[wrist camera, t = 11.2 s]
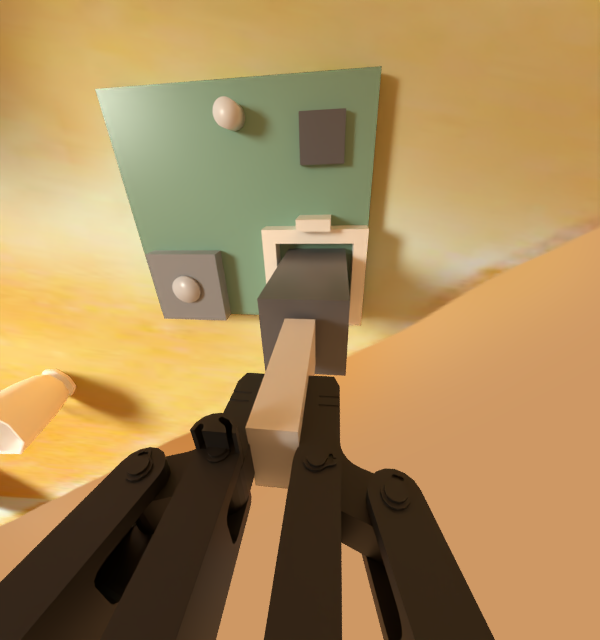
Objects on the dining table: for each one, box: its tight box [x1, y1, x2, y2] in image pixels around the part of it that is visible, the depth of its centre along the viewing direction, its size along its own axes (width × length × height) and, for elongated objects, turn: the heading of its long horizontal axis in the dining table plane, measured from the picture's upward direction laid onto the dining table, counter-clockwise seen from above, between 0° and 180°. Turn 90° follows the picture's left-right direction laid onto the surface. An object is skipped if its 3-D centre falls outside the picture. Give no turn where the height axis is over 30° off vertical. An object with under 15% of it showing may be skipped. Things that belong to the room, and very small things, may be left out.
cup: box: [0, 369, 76, 454], centre depth 32 cm, size 7×10×8 cm
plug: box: [257, 248, 350, 376], centre depth 19 cm, size 4×4×10 cm
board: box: [95, 66, 382, 315], centre depth 21 cm, size 17×19×3 cm
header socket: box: [261, 215, 369, 325], centre depth 22 cm, size 9×8×2 cm
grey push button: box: [145, 250, 231, 320], centre depth 24 cm, size 6×10×3 cm, turn 92°
